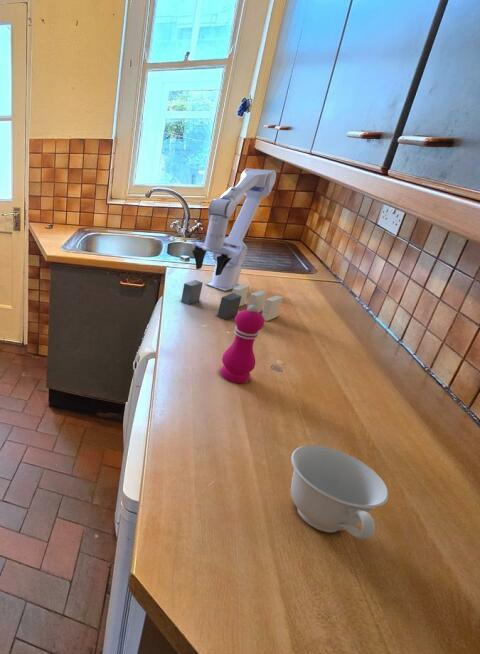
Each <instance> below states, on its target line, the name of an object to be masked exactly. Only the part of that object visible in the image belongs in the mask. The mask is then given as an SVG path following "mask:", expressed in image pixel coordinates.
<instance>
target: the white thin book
mask: <svg viewBox="0 0 480 654" xmlns="http://www.w3.org/2000/svg"><path fill="white" fill-rule="evenodd" d="M249 289H250V285H248V284H241V285H240V286H238V287H235V288H232V291H231V294H232V293H234V294H237V295H240V296H242V297H241V301H240V304H239V308H240V307H242V306H244V305H245V304H246V301H247V296H248V293H249Z"/></svg>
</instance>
